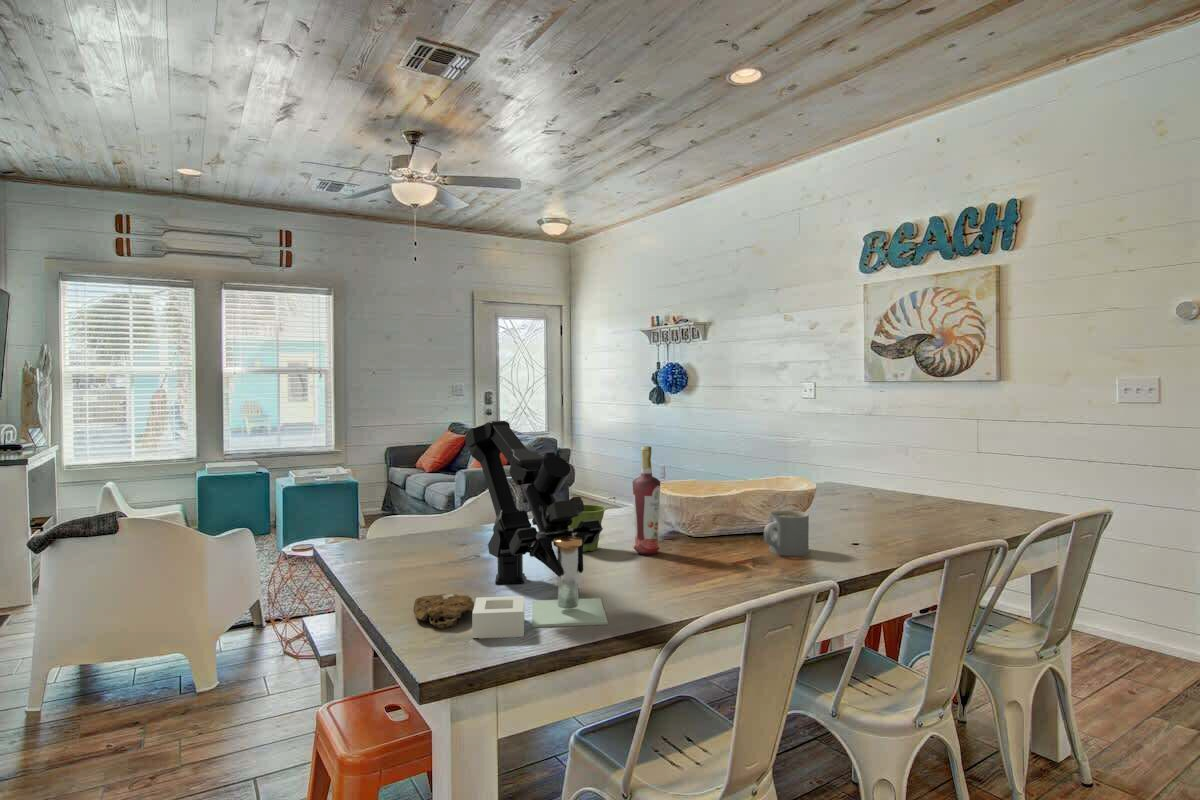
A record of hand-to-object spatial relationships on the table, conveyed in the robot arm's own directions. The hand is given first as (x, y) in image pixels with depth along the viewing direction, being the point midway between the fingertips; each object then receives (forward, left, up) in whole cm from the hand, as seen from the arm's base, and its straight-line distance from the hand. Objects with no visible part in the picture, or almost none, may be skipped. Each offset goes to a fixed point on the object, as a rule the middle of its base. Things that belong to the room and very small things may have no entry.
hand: (571, 573), depth 134 cm
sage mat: (-1, -1, -8) cm, 8 cm away
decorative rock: (-2, -24, -9) cm, 26 cm away
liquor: (-46, +22, -8) cm, 52 cm away
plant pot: (-52, +6, -8) cm, 53 cm away
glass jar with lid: (-1, -1, -7) cm, 7 cm away
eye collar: (+6, -14, -8) cm, 17 cm away
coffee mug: (-43, +58, -8) cm, 73 cm away
